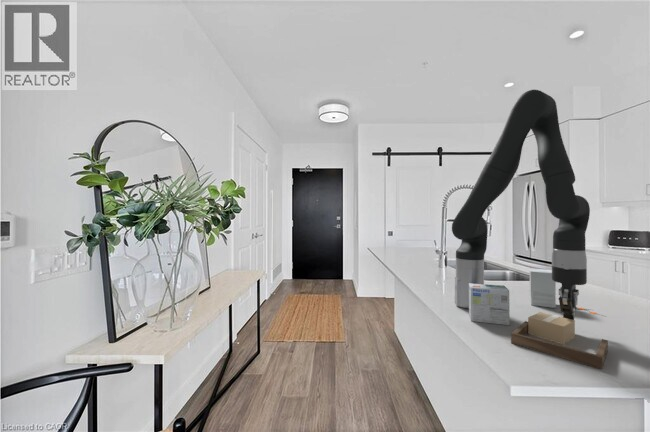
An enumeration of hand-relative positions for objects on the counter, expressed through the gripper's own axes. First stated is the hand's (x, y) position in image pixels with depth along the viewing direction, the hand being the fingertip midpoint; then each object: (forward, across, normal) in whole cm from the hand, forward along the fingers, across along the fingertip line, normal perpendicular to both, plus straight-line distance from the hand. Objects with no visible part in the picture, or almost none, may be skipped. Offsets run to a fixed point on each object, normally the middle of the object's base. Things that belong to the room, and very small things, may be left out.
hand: (568, 327), depth 82 cm
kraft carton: (+2, +6, -3) cm, 7 cm away
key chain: (+2, -28, 0) cm, 28 cm away
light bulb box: (+2, +6, -19) cm, 20 cm away
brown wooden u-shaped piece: (+2, +13, 0) cm, 13 cm away
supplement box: (+2, -26, -11) cm, 29 cm away
